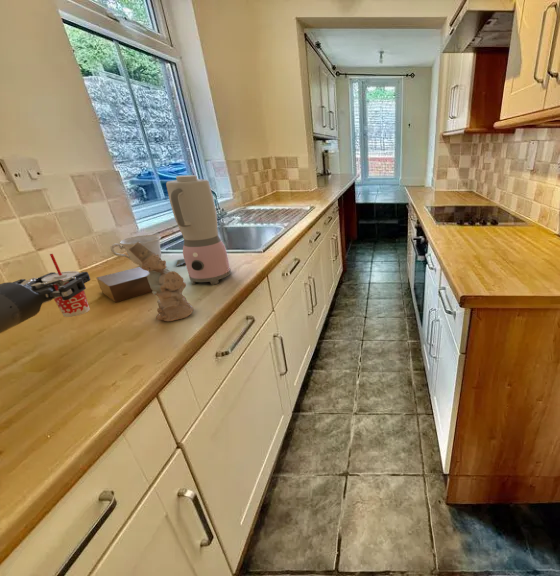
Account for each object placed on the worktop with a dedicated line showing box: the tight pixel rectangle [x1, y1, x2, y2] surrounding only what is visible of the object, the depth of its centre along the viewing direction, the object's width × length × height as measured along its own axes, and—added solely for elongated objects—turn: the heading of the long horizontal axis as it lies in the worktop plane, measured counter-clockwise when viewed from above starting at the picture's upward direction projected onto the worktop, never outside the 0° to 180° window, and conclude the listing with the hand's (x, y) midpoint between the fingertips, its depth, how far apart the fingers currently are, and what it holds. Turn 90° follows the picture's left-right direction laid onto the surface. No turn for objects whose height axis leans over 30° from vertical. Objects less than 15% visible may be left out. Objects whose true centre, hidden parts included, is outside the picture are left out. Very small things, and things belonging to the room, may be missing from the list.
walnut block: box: [96, 266, 153, 303], centre depth 95 cm, size 11×11×5 cm
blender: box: [165, 174, 232, 286], centre depth 97 cm, size 16×12×32 cm
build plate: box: [176, 258, 186, 267], centre depth 120 cm, size 12×7×5 cm, turn 117°
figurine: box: [129, 242, 194, 322], centre depth 78 cm, size 9×8×20 cm
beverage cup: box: [41, 253, 91, 318], centre depth 70 cm, size 6×6×14 cm
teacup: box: [109, 234, 162, 268], centre depth 113 cm, size 12×15×10 cm
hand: (71, 276), depth 72 cm, fingers closed on beverage cup, 6 cm apart
